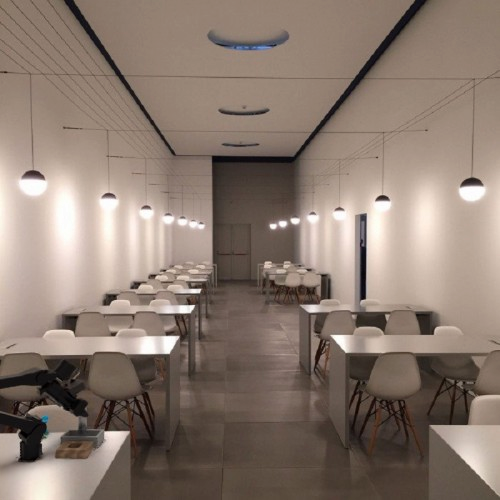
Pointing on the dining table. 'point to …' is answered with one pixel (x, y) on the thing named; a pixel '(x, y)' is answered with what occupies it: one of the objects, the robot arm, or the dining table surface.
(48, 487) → the dining table surface
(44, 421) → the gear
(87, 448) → the wooden socket block
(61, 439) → the tray
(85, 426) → the stop pin
